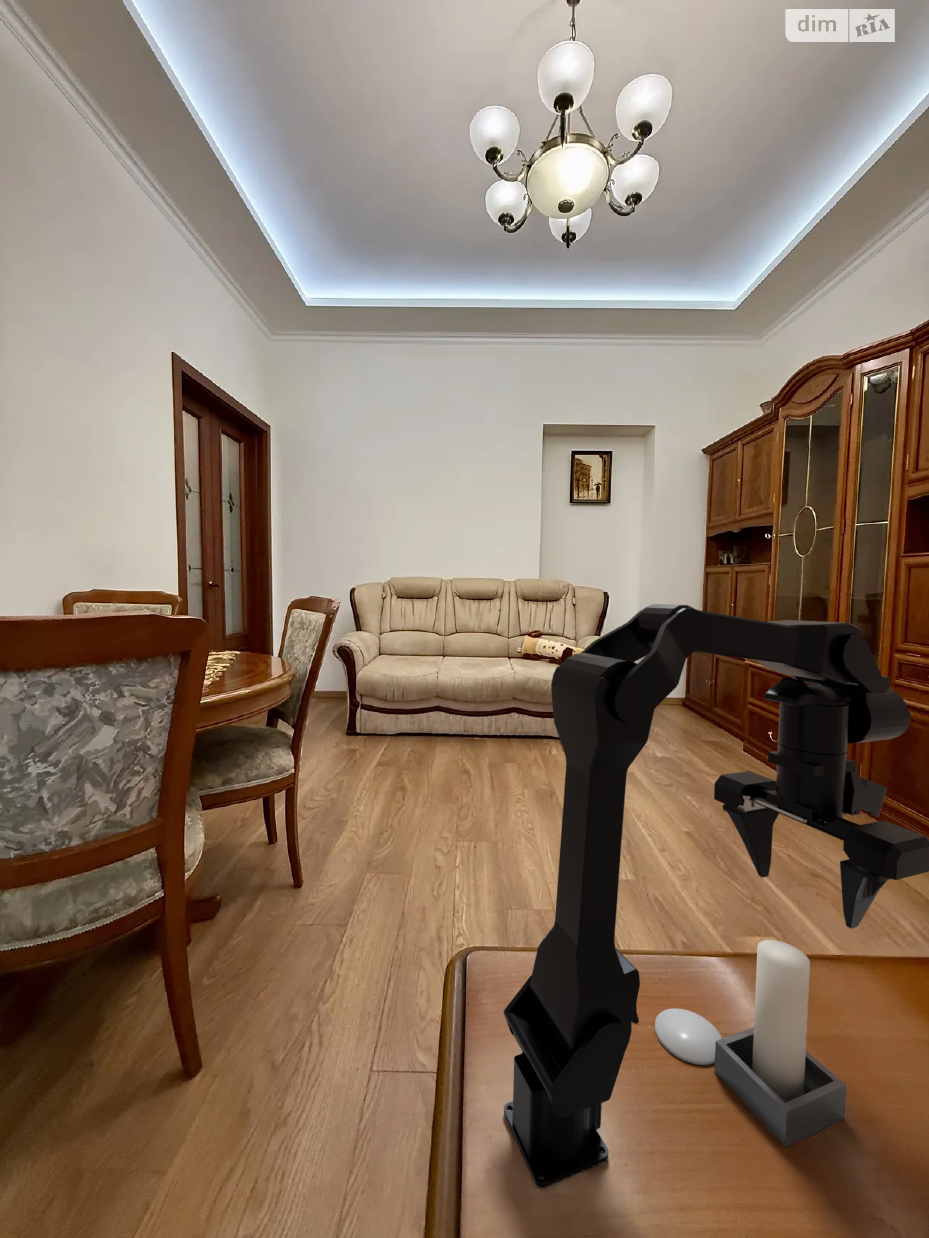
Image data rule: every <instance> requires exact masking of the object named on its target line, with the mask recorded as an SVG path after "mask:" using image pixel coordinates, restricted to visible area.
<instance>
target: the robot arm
mask: <svg viewBox="0 0 929 1238" xmlns="http://www.w3.org/2000/svg"><path fill="white" fill-rule="evenodd" d="M861 633H862V630H861V629H860V628H859V626H857V625H856V624H853V623H851V622H840V621H839V622H837V621H818V620H817V621H816V620H797V619H795V620H793V619H783V620H781V619H780V620H772V621H771V620H770V621H765V620H758V619H753V618H747V617H741V616H735V615H729V614H725V613H724V614H723V613H718V612H711V611H706V610H700V609H696V608H694V607H692V606H691V605H688V604H667V603H666V604H660V603H659V604H657V603H656V604H655V603H654V604H653V603H652V604H650V605H647V606H646V607H644V608H642V609H641V610H639V611H637V613H636V614H635V615H634V616H632V617H631V618H630V619H629V620H628V621H627V622H625V623H624V624H622V625H620V626H618V627H616V628H614V629H613V630H611V631H609V632H608V633H606V634H604V635H602V636H600V637H598V638H597V639H595V640H594V641H592V642H591V643H590V644H588V645H587V646H586V648H585V649H583V650H582V651H581V652H579V653H574V654H572V655H571V656H569V657H567V658H566V659H564V661H563V662H562V663H560V664H559V666H556V668H555V670H554V672H553V674H552V679H551V682H550V683H551V684H550V686H551V687H550V689H551V702H552V713H553V715H552V716H553V724H554V726H555V729H556V732H557V735H558V738H559V740H560V744H561V746H562V749H563V753H564V755H565V774H564V775H565V776H564V789H563V790H564V792H563V801H562V816H561V831H560V845H559V848H560V849H559V860H558V861H559V862H558V872H557V873H558V875H557V887H556V888H557V889H556V903H555V915H554V923H553V926H552V927H551V929H550V930H549V931H548V933H547V934H546V935H544V936H545V938H544V939H543V940H542V939H541V941H542V942H541V941H540V943H539V945H537V948H538V950H537V949H536V955H535V959H534V965H533V968H532V972H531V974H530V976H529V978H528V979H527V980H525V982H524V984H523V985H522V987H521V988H520V989H519V990H518V991H517V993H516V994H515V995H514V997H513V998H512V1000H510V1002H509V1003H508V1004H507V1006H505V1008H504V1010H503V1016H504V1018H505V1021H506V1025H507V1028H508V1030H509V1032H510V1033H511V1035H513V1037H514V1039H515V1041H516V1043H517V1044H518V1046H519V1048H520V1049H521V1051H522V1052H521V1053H518V1054H517V1055H515V1056H514V1057H513V1085H512V1087H513V1089H512V1101H508V1102H507V1103H505V1104H504V1107H503V1114H504V1116H505V1119H506V1121H507V1124H508V1126H509V1128H510V1130H511V1133H512V1135H513V1137H514V1139H515V1142H516V1144H517V1146H518V1148H519V1150H520V1153H521V1156H522V1157H523V1159H524V1162H525V1164H526V1166H527V1168H528V1171H529V1172H530V1175H531V1178H532V1180H533V1182H534V1183H535V1185H536V1187H538V1188H540V1189H544V1188H546V1187H549V1186H551V1185H553V1184H556V1183H558V1182H561V1181H562V1180H566V1179H567V1178H570V1177H572V1176H574V1175H577V1174H579V1173H581V1172H584V1171H587V1170H588V1169H591V1168H593V1167H596V1166H598V1165H601V1164H603V1163H605V1162H607V1161H608V1159H609V1149H608V1147H607V1145H606V1144H605V1142H604V1139H603V1138H602V1137H601V1135H600V1133H599V1132H598V1130H599V1129H601V1126H602V1103H605V1102H607V1101H608V1102H609V1100H610V1099H611V1097H612V1094H613V1091H614V1087H615V1084H616V1081H617V1078H618V1075H619V1072H620V1069H621V1066H622V1063H623V1060H624V1056H625V1054H626V1050H627V1048H628V1045H629V1044H630V1040H631V1035H632V1030H633V1024H634V1025H637V1024H639V1022H640V1019H639V1015H638V1012H637V1010H638V1009H637V1007H638V1006H637V1003H638V1002H637V1001H638V996H639V992H640V991H639V990H640V987H641V980H640V972H639V970H638V969H637V968H636V967H635V966H634V965H633V964H632V962H630V960H628V958H627V957H626V956H624V955H623V954H622V952H621V951H620V950H619V949H618V948H617V947H616V942H615V941H616V940H615V939H616V926H617V925H616V924H617V923H616V922H617V912H618V911H617V909H618V900H619V899H618V896H619V885H620V883H619V882H620V871H621V870H620V869H621V857H622V856H621V855H622V843H623V830H624V829H623V827H624V816H625V815H624V814H625V800H626V790H627V789H626V788H627V776H628V771H629V767H630V766H631V765H632V764H633V762H634V761H635V760H636V758H637V757H638V755H639V754H640V753H641V752H642V750H643V748H644V747H645V746H646V744H647V743H648V741H649V737H650V733H651V727H652V723H653V718H654V713H655V710H656V708H657V707H658V706H659V705H660V704H661V703H662V702H663V701H664V700H665V699H667V697H668V696H669V695H670V694H671V693H672V692H673V691H674V690H675V689H676V688H677V687H678V686H679V684H680V681H681V677H682V673H683V670H684V666H685V664H686V663H685V662H686V661H687V659H688V657H690V655H691V656H692V654H693V653H694V652H697V653H703V654H711V655H718V656H725V657H726V656H727V657H731V658H732V657H734V658H740V659H748V660H751V661H754V662H758V663H759V664H760V665H761V666H762V667H764V668H767V669H769V670H771V671H774V672H777V673H779V674H782V675H787V676H790V677H791V678H790V677H785V676H784V677H781V679H780V680H779V682H778V683H777V684H776V685H774V686H772V687H770V688H769V689H768V690H767V691H766V692H765V693H764V699H765V700H766V701H772V702H776V703H779V710H778V711H779V714H778V735H777V736H778V739H777V751H768V752H767V762H768V763H770V764H774V765H776V779H772V778H770V777H766V776H763V775H760V774H759V773H756V772H753V771H750V770H747V771H741V772H731V773H726V774H720V775H719V777H718V778H717V779H716V781H714V784H713V787H714V788H713V800H715V801H717V802H720V803H722V805H721V806H722V811H724V812H725V813H727V814H728V815H729V818H730V820H731V821H732V823H733V825H734V827H735V829H736V831H737V833H738V834H739V836H740V838H741V840H742V842H743V844H744V847H745V849H746V851H747V853H748V855H749V857H750V859H751V862H752V865H753V866H754V869H755V870H756V874H757V875H758V876H759V877H760V878H767V877H768V876H770V870H771V864H772V852H773V851H772V850H773V832H774V829H773V828H774V824H775V822H776V820H777V819H778V816H779V814H780V815H782V816H785V817H788V818H790V819H791V820H794V821H797V822H799V823H801V824H803V825H805V826H808V827H811V828H812V829H815V830H817V831H819V832H821V833H825V834H827V835H829V836H830V837H833V838H836V839H838V840H840V841H843V846H842V847H843V849H842V850H843V852H844V854H845V855H846V856H847V858H848V859H844V860H840V861H839V868H840V869H839V870H840V871H839V873H840V881H841V883H840V884H841V897H842V911H843V912H842V913H843V916H844V917H843V918H844V921H845V926H846V927H847V928H849V929H850V930H851V929H855V928H857V927H859V925H860V923H862V921H863V918H864V916H865V915H866V914H867V912H868V910H869V908H870V906H871V905H872V903H873V901H875V898H876V897H877V896H878V893H879V892H880V890H881V889H882V888H883V887H884V886H885V884H886V883H887V882H888V881H889V880H894V881H898V880H903V879H906V878H910V877H914V876H917V875H921V874H924V873H928V872H929V838H928V837H927V836H926V835H924V834H922V833H918V832H917V831H916V832H915V831H912V830H910V829H907V828H905V827H901V826H899V825H897V824H894V823H891V822H888V821H885V820H879V821H878V820H877V821H874V822H869V823H864V824H858V823H856V822H853V821H850V820H848V819H846V818H845V815H849V816H857V815H858V816H859V815H860V814H861V810H864V811H865V812H866V813H867V814H868V815H872V816H874V817H877V818H879V817H880V814H881V810H882V807H883V804H884V801H885V800H884V799H885V796H886V793H887V789H888V787H886V786H884V785H881V784H880V783H876V782H874V781H872V780H869V779H866V778H863V777H862V776H861V777H860V776H858V766H857V763H856V760H853V759H849V758H848V757H847V756H848V755H847V754H848V744H858V743H869V742H877V741H884V740H892V739H896V738H898V737H900V736H902V735H903V734H905V732H906V731H907V729H908V728H909V726H910V724H911V712H910V711H909V708H908V704H907V703H906V701H905V700H904V698H903V697H902V696H900V694H899V693H898V692H896V691H894V690H893V689H892V688H890V686H891V685H890V684H891V679H890V677H889V676H884V675H882V673H881V671H880V668H879V667H878V664H877V662H876V660H875V657H874V656H873V653H872V651H871V648H870V647H869V644H868V642H867V640H866V639H865V638H864V637H863V636H862V635H861ZM639 660H640V661H639ZM637 661H639V662H637Z"/></svg>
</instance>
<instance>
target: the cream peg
mask: <svg viewBox="0 0 929 1238" xmlns="http://www.w3.org/2000/svg"><path fill="white" fill-rule="evenodd" d="M756 950H757V951H756V971H755V972H756V975H755V976H756V977H755V994H754V995H755V996H754V1019H753V1027H754V1037H753V1060H752V1064H751V1070H752V1071H753V1072H754V1073H755V1074H756V1075H757V1076H758V1077H759V1078H760V1079H761V1080H762V1081H763V1082H764V1083H765V1084H766V1085H767V1086H768V1087H769V1088H770V1089H771V1090H772V1091H773V1092H774V1093H775V1094H776V1095H777V1096H778V1097H779V1098H780V1099H781V1100H782V1101H783V1102H784V1103H786V1102H789V1101H791V1100H793V1099H795V1098H798V1097H800V1096H802V1095H804V1093H805V1091H804V1090H805V1088H804V1074H805V1054H806V1051H807V1029H808V1008H809V991H810V990H809V989H810V973H811V972H810V970H811V966H810V965H811V962H810V960H809V957H807V955H806V954H805V953H804V952H803V951H801V950H800V949H799V948H797V947H795V946H793V945H791V944H789V943H786V942H784V941H780V940H775V939H765V940H764V939H763V940H761V941H760V942H759V943H758V944H757V949H756Z"/></svg>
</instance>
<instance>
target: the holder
mask: <svg viewBox="0 0 929 1238" xmlns="http://www.w3.org/2000/svg"><path fill="white" fill-rule="evenodd" d="M753 1037H754V1026H752V1027H750V1028H748V1029H746V1030H742V1031H739V1032H737V1033H734V1034H731V1035H728V1036H726V1037H722V1039H720V1040H717V1041H716V1044H715V1063H714V1068H713V1069H714V1071H713V1072H714V1073H715V1074H716V1075H717V1076H718V1077H719V1078H720V1079H721V1081H722V1082H723V1083H724V1084H725V1085H726V1086H727V1087H728V1088H729V1089H730V1090H731V1091H732V1093H734V1095H735V1096H736V1097H737V1098H738V1099H739V1100H740V1101H741V1102H742V1103H743V1104H744V1105H745V1107H746V1108H747V1109H748V1110H750V1112H751V1113H752V1114H753V1115H754V1116H755V1117H756V1118H757V1119H758V1120H759V1122H761V1124H762V1125H763V1126H764V1127H766V1129H767V1130H768V1131H769V1133H771V1134H772V1136H773V1137H775V1139H776V1140H778V1142H779V1143H780V1144H781V1145H782V1146H783V1147H784V1148H787V1147H788V1146H790V1145H793V1144H796V1143H797V1142H799V1141H802V1140H804V1139H805V1138H807V1137H809V1136H812V1135H813V1134H815V1133H817V1132H820V1131H821V1130H824V1129H826V1128H828V1127H830V1126H832V1125H834V1124H837V1123H838V1122H840V1121H842V1120H845V1118H846V1104H847V1103H846V1101H847V1100H846V1099H847V1084H846V1083H845V1082H843V1080H842V1079H840V1078H839V1076H837V1075H835V1074H834V1073H833V1072H832V1071H831V1070H830V1069H828V1068H827V1067H826V1066H825V1065H824V1064H823V1063H821V1062H820V1061H819V1060H818V1059H817V1058H816V1057H815V1056H814V1055H812V1054H811V1053H810V1052H808V1051H807V1050H806V1054H805V1074H804V1090H806V1091H807V1093H805V1094H804V1095H802V1096H800V1097H798V1098H795V1099H793V1100H791V1101H789V1102H786V1103H784V1102H783V1101H782V1100H781V1099H780V1098H779V1097H778V1096H777V1095H776V1094H775V1093H774V1092H773V1091H772V1090H771V1089H770V1088H769V1087H768V1086H767V1085H766V1084H765V1083H764V1082H763V1081H762V1080H761V1079H760V1078H759V1077H758V1076H757V1075H756V1074H755V1073H754V1072H753V1071H752V1068H750V1066H752V1060H753Z"/></svg>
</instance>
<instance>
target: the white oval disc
mask: <svg viewBox="0 0 929 1238" xmlns="http://www.w3.org/2000/svg"><path fill="white" fill-rule="evenodd" d="M654 1023H655V1024H654V1030H655V1033H656V1034H655V1035H656V1037H657V1040H658V1041H659V1042H660V1044H661V1045H662V1046H663V1047H664V1048H665V1049H666V1050H667V1051H668V1052H669V1054H671V1055H673V1056H675V1057H677V1058H678V1059H679V1060H682V1061H684V1062H687V1063H689V1064H693V1065H697V1066H698V1065H699V1066H709V1065H713V1064H715V1044H716V1041H717V1040H720V1039H722V1038H723V1037H722V1035H721V1034H720V1031H718V1029H717V1028H716V1027H715V1026H714V1024H712V1022H710V1021H709V1020H707V1018H705V1017H703V1016H701V1015H699V1013H695V1012H694V1011H691V1010H688V1009H683V1008H667V1009H664V1010H662V1011H661V1012H660V1013H658V1015H656V1018H655V1021H654Z"/></svg>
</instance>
